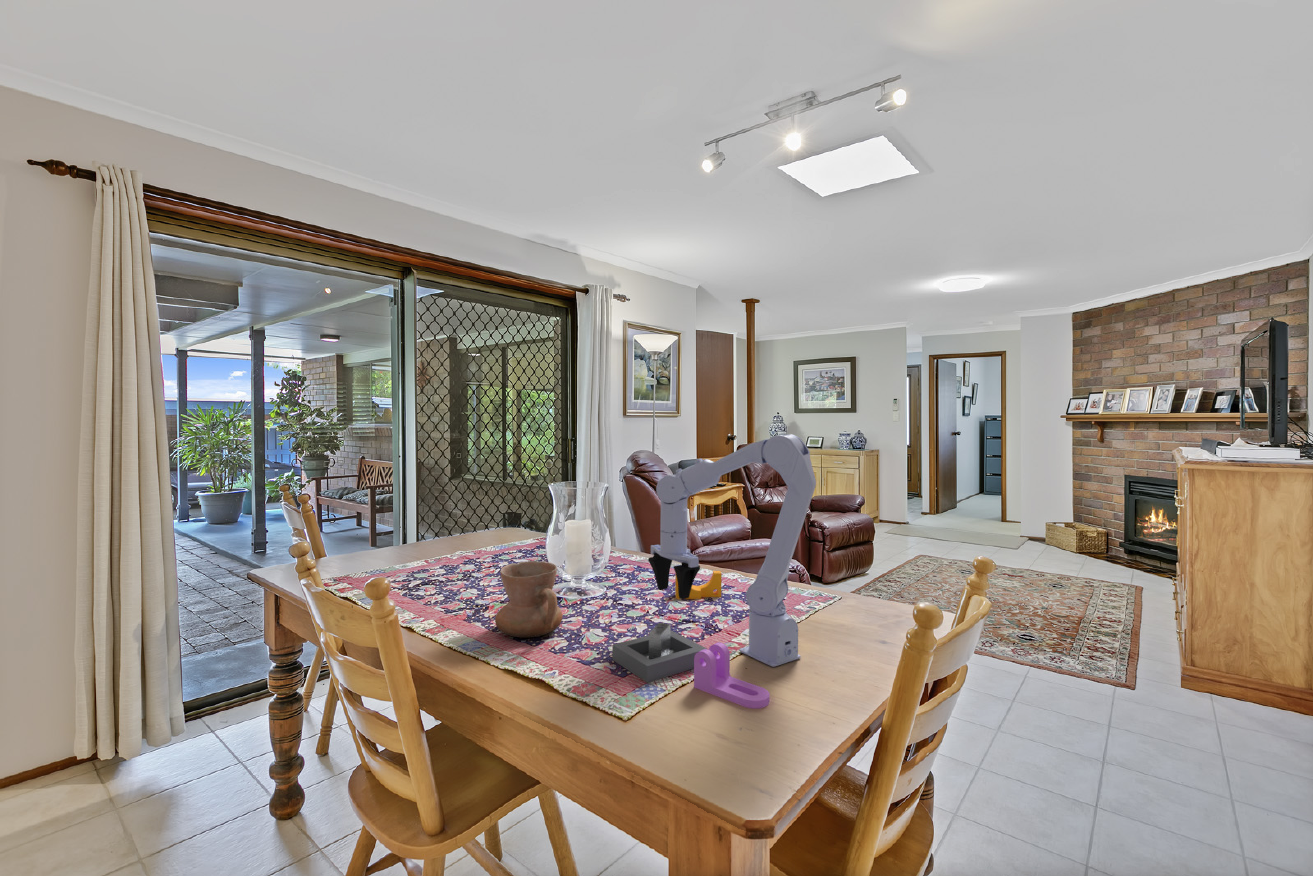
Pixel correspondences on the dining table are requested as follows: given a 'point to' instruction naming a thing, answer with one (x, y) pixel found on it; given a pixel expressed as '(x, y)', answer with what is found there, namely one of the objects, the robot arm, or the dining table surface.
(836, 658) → the dining table surface
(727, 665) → the bracket
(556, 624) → the ceramic jug
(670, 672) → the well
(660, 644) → the grey block
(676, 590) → the pipe clamp
